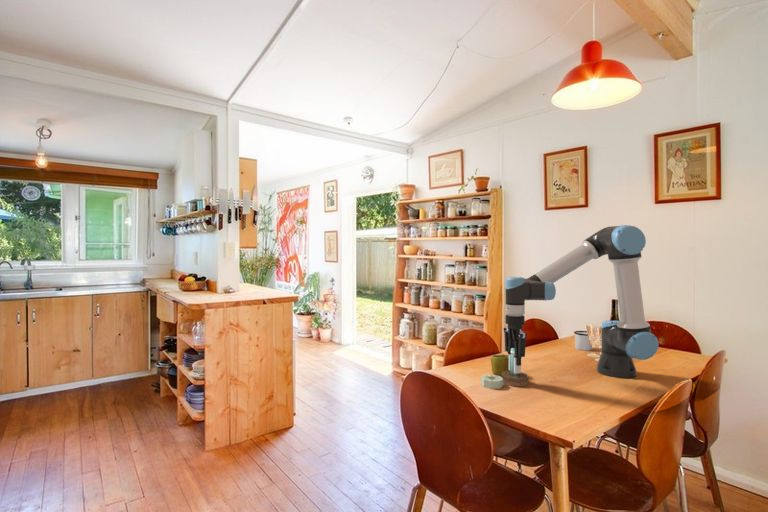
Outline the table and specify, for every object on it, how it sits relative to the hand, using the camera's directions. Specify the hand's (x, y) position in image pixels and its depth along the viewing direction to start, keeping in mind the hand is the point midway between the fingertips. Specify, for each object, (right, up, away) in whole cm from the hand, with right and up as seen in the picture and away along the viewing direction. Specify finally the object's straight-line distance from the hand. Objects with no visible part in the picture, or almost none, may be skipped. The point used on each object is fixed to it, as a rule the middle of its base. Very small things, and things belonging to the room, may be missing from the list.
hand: (514, 371), depth 166 cm
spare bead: (-10, -5, -3) cm, 12 cm away
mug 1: (-2, -5, +13) cm, 14 cm away
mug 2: (+56, -3, +55) cm, 79 cm away
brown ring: (0, -5, 0) cm, 5 cm away
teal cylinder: (0, -5, 0) cm, 5 cm away
